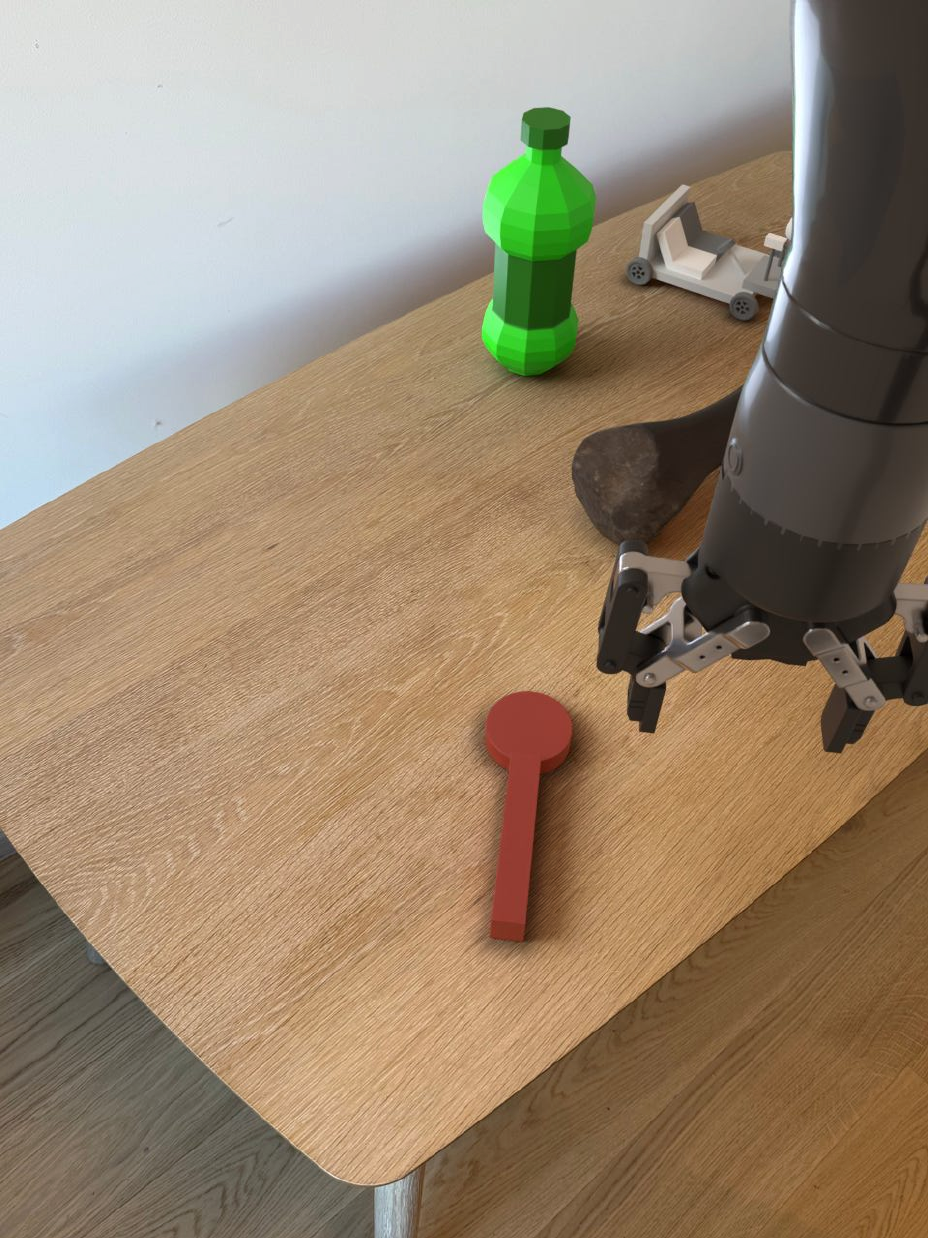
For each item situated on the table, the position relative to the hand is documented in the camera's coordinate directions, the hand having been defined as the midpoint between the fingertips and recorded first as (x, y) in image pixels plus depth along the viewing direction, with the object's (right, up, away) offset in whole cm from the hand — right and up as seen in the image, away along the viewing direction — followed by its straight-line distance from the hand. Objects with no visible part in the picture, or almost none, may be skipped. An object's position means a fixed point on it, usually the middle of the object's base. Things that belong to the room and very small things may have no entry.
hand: (736, 727), depth 52 cm
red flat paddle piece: (-9, -9, +27) cm, 29 cm away
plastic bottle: (-6, +32, +62) cm, 70 cm away
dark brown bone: (+9, +19, +51) cm, 55 cm away
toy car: (+16, +43, +72) cm, 85 cm away
